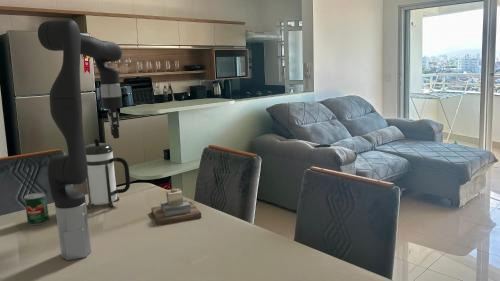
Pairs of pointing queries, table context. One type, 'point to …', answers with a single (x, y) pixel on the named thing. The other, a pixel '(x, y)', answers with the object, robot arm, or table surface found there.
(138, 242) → the table surface
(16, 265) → the table surface
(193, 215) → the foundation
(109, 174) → the coffee press
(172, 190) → the maple block
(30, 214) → the canned tomato
